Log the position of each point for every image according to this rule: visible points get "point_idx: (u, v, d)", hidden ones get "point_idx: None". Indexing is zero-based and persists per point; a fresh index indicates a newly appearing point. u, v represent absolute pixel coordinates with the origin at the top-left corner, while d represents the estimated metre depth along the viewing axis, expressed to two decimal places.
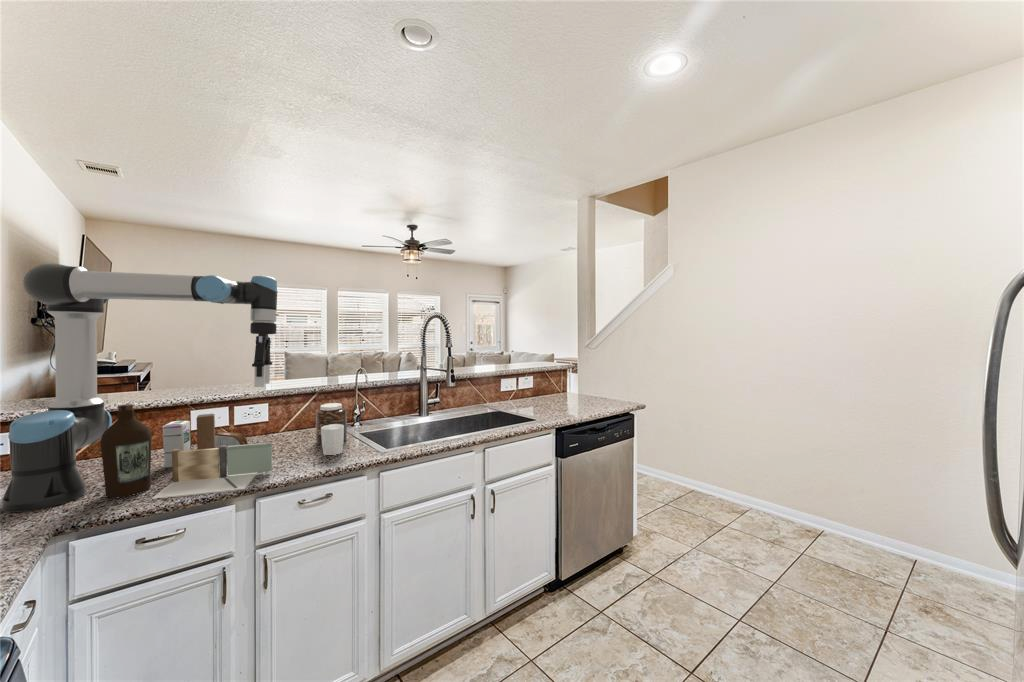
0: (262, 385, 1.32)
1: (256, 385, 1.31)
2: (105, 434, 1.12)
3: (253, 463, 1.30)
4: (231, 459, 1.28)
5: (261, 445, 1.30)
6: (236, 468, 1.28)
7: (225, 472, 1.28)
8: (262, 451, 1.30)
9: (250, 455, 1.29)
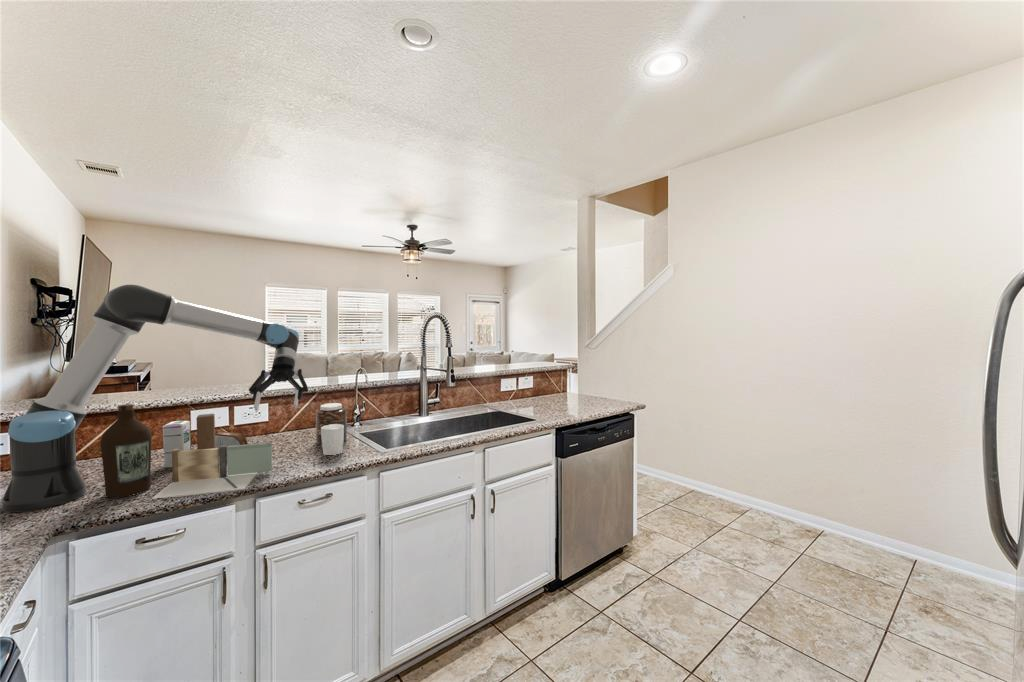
0: (297, 406, 1.50)
1: (296, 404, 1.49)
2: (105, 434, 1.12)
3: (253, 463, 1.30)
4: (231, 459, 1.28)
5: (261, 445, 1.30)
6: (236, 468, 1.28)
7: (225, 472, 1.28)
8: (262, 451, 1.30)
9: (250, 455, 1.29)
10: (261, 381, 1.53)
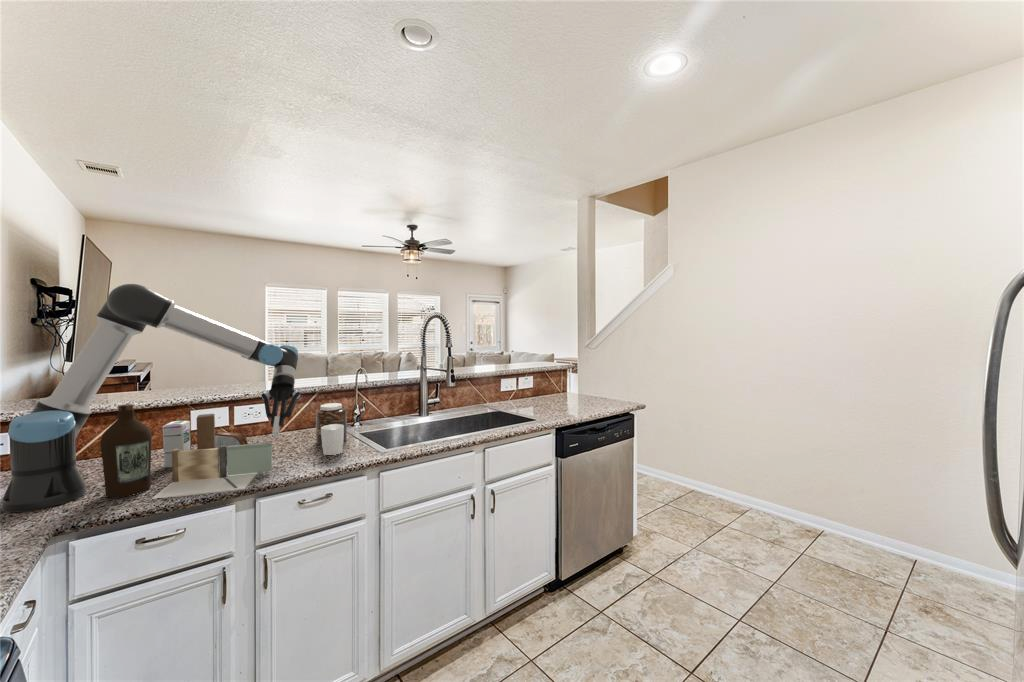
0: (278, 434, 1.43)
1: (277, 432, 1.42)
2: (105, 434, 1.12)
3: (253, 463, 1.30)
4: (231, 459, 1.28)
5: (261, 445, 1.30)
6: (236, 468, 1.28)
7: (225, 472, 1.28)
8: (262, 451, 1.30)
9: (250, 455, 1.29)
10: (268, 404, 1.49)
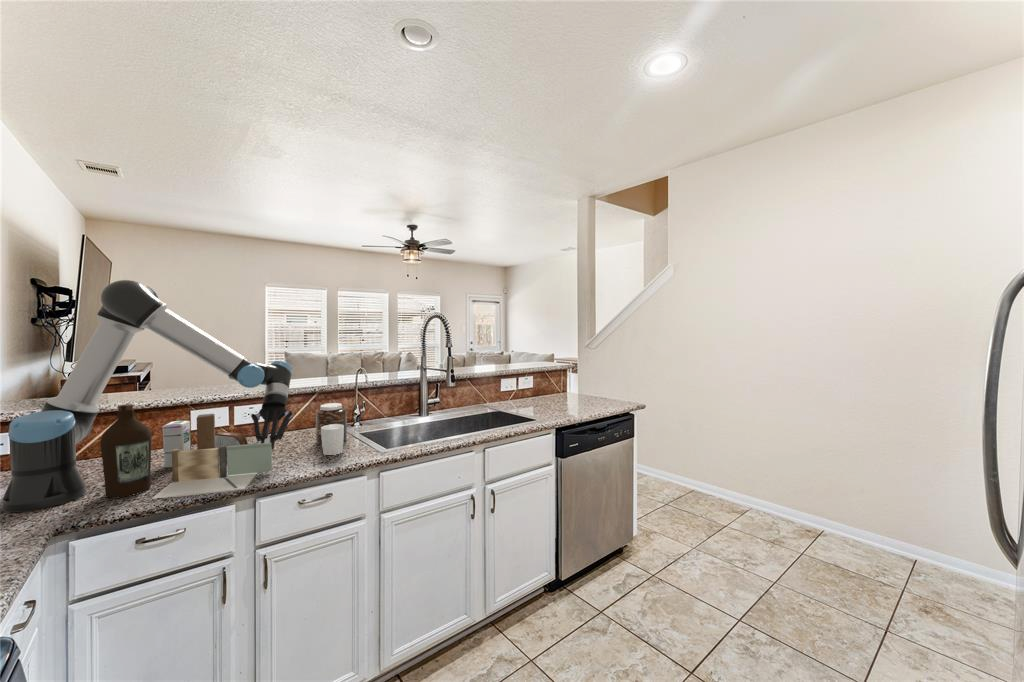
0: None
1: None
2: (105, 434, 1.12)
3: (253, 463, 1.30)
4: (231, 459, 1.28)
5: (261, 445, 1.30)
6: (236, 468, 1.28)
7: (225, 472, 1.28)
8: (262, 451, 1.30)
9: (250, 455, 1.29)
10: (258, 425, 1.40)
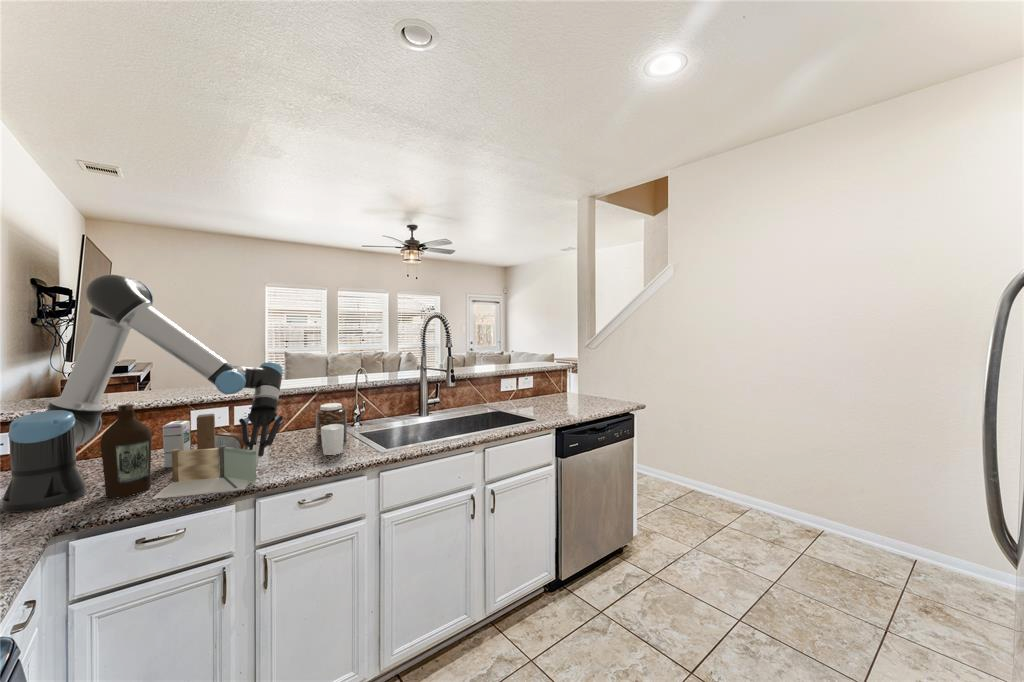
0: (257, 465, 1.27)
1: (256, 463, 1.26)
2: (105, 434, 1.12)
3: (240, 469, 1.24)
4: (226, 461, 1.26)
5: (245, 452, 1.23)
6: (229, 471, 1.26)
7: None
8: (246, 458, 1.23)
9: (238, 460, 1.24)
10: (247, 430, 1.33)
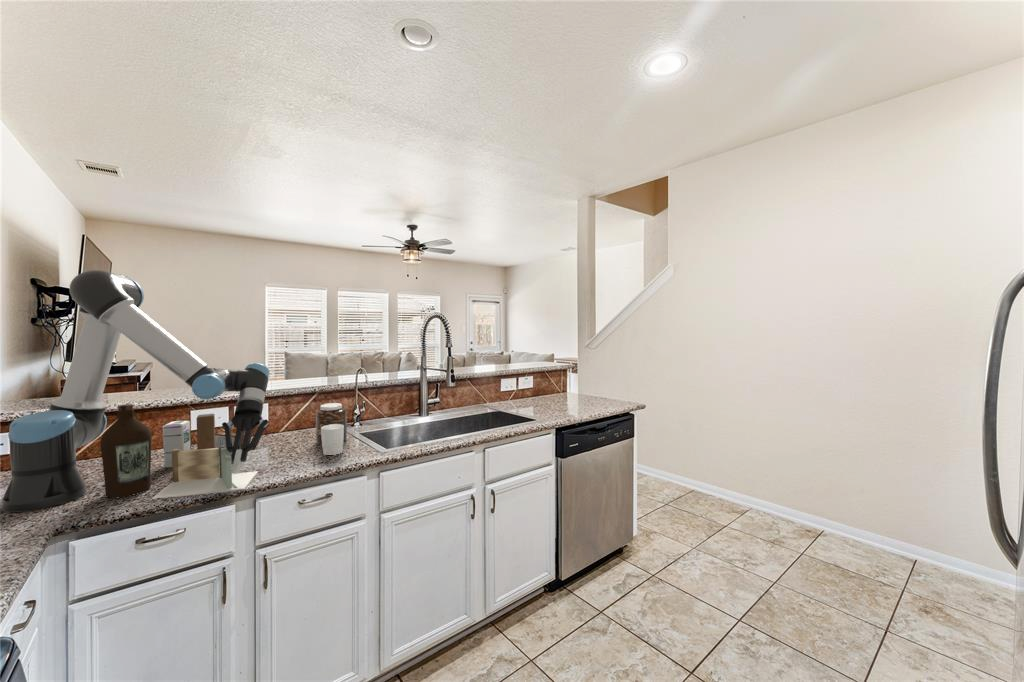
0: (239, 471, 1.22)
1: (238, 469, 1.21)
2: (105, 434, 1.12)
3: (224, 473, 1.21)
4: (221, 462, 1.25)
5: (224, 456, 1.19)
6: (222, 472, 1.25)
7: None
8: (225, 463, 1.19)
9: (223, 464, 1.21)
10: (230, 434, 1.28)
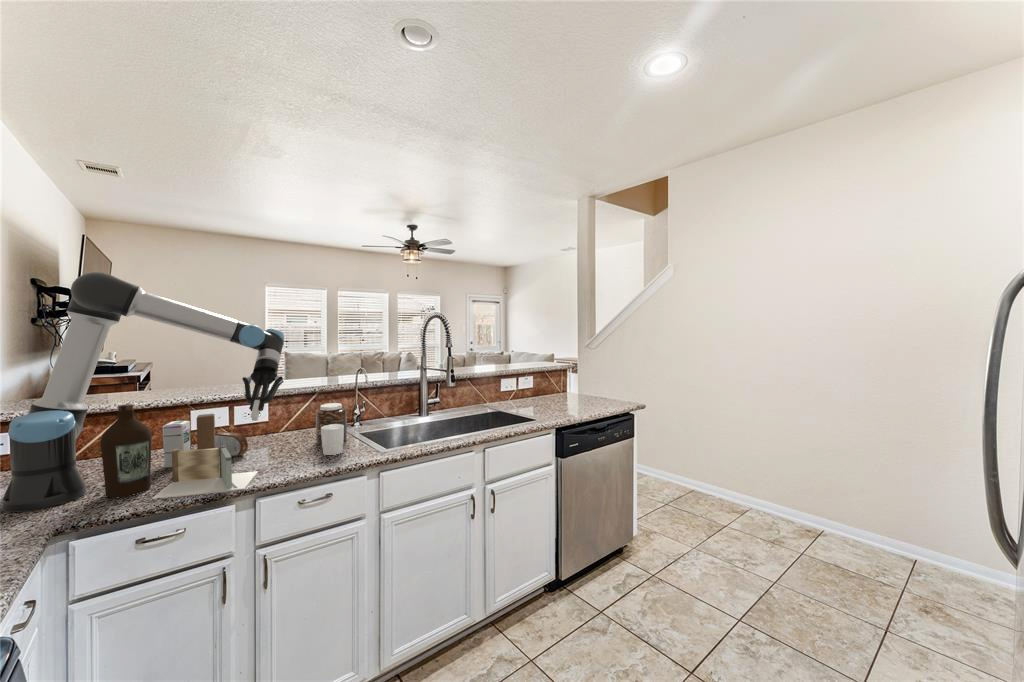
0: (257, 418, 1.38)
1: (256, 416, 1.37)
2: (105, 434, 1.12)
3: (224, 473, 1.21)
4: (221, 462, 1.25)
5: (224, 456, 1.19)
6: (222, 472, 1.24)
7: None
8: (225, 463, 1.19)
9: (223, 464, 1.21)
10: (249, 387, 1.44)
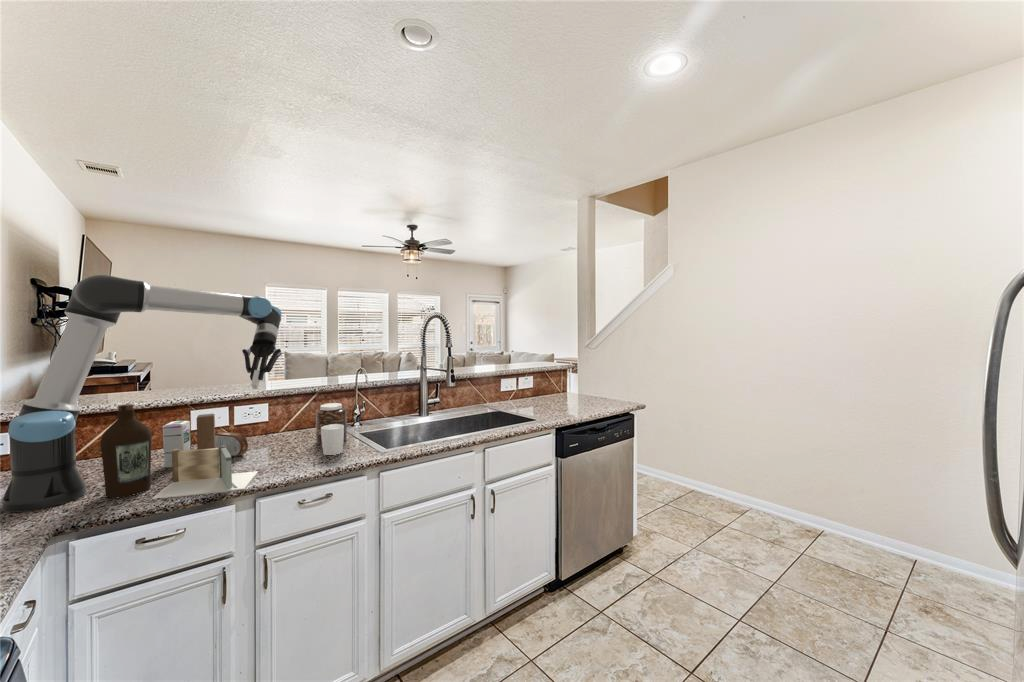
0: (257, 387, 1.45)
1: (256, 384, 1.43)
2: (105, 434, 1.12)
3: (224, 473, 1.21)
4: (221, 462, 1.25)
5: (224, 456, 1.19)
6: (222, 472, 1.24)
7: None
8: (225, 463, 1.19)
9: (223, 464, 1.21)
10: (249, 359, 1.51)
